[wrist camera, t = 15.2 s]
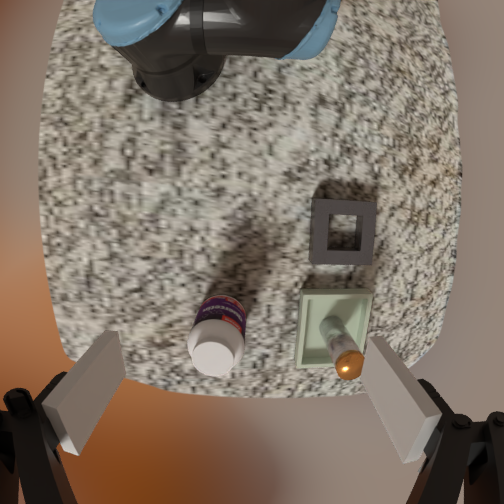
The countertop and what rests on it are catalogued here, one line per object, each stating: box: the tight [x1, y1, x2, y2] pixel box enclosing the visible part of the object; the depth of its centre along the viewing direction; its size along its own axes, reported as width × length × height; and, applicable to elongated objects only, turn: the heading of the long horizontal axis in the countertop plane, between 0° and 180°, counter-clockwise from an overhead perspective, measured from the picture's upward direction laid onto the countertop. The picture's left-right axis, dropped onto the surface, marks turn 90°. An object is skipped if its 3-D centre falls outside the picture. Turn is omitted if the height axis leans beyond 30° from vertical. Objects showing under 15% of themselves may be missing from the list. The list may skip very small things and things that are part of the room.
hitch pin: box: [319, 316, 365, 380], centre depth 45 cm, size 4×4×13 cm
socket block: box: [308, 198, 377, 265], centre depth 47 cm, size 10×10×3 cm
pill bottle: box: [187, 295, 246, 376], centre depth 44 cm, size 8×8×14 cm
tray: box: [294, 288, 373, 368], centre depth 50 cm, size 14×12×3 cm
